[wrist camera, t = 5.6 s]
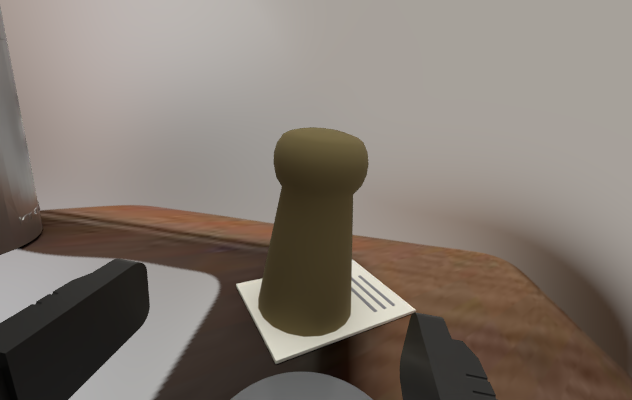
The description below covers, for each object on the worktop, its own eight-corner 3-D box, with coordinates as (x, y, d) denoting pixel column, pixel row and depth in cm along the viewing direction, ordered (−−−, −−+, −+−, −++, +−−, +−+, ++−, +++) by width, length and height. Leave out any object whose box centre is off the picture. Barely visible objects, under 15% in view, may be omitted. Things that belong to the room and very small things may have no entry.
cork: (316, 355, 15) (345, 140, 12) (237, 303, 18) (242, 121, 15) (367, 300, 20) (398, 136, 17) (297, 267, 23) (311, 123, 20)
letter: (275, 364, 15) (276, 360, 15) (236, 286, 20) (236, 283, 20) (414, 312, 20) (415, 309, 20) (352, 261, 25) (352, 259, 25)
